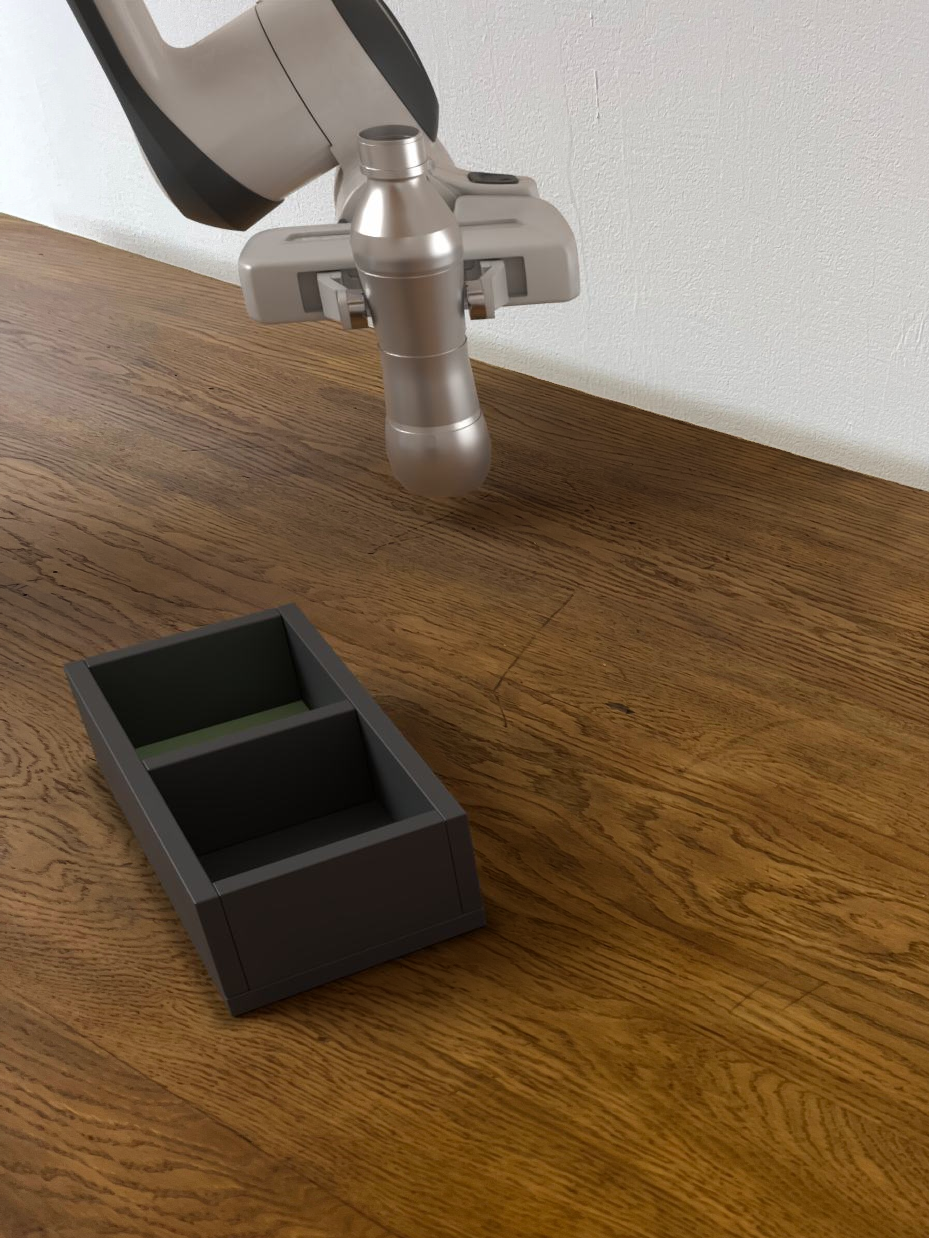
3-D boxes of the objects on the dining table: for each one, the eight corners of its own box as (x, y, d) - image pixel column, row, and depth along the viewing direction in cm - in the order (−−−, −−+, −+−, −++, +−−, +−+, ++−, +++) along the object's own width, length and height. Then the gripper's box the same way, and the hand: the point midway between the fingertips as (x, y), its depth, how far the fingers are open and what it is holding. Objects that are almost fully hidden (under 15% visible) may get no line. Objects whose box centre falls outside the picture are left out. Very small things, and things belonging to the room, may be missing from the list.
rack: (232, 1017, 66) (194, 904, 62) (100, 770, 79) (61, 663, 75) (487, 925, 70) (467, 813, 66) (319, 705, 84) (294, 601, 80)
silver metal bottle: (483, 459, 103) (434, 112, 89) (508, 501, 98) (461, 141, 84) (384, 475, 101) (319, 123, 87) (405, 519, 96) (340, 154, 83)
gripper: (228, 195, 98) (220, 265, 88) (558, 174, 101) (586, 239, 91) (251, 302, 102) (246, 381, 92) (567, 279, 105) (595, 352, 95)
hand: (418, 310), depth 91 cm, fingers closed on silver metal bottle, 6 cm apart
